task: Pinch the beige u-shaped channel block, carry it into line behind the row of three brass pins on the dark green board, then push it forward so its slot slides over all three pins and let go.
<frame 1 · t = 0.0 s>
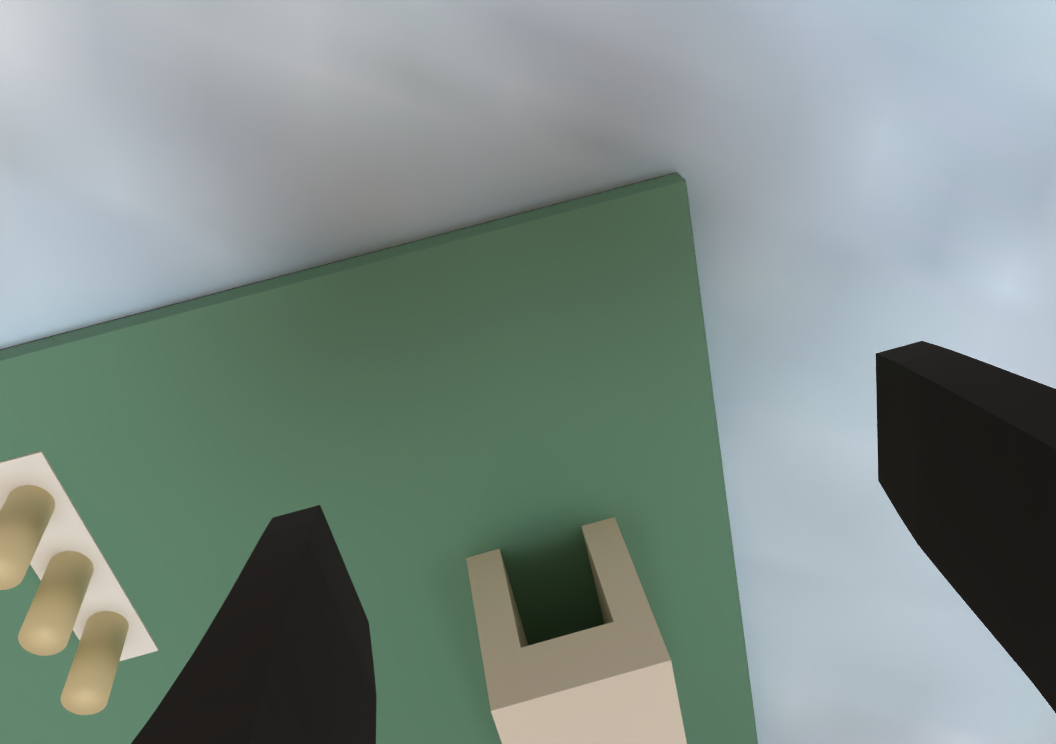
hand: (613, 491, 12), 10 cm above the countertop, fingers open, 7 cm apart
header board: (298, 633, 25), on the countertop
beige u-shaped channel block: (565, 631, 26), point 1 cm above the countertop, touching header board
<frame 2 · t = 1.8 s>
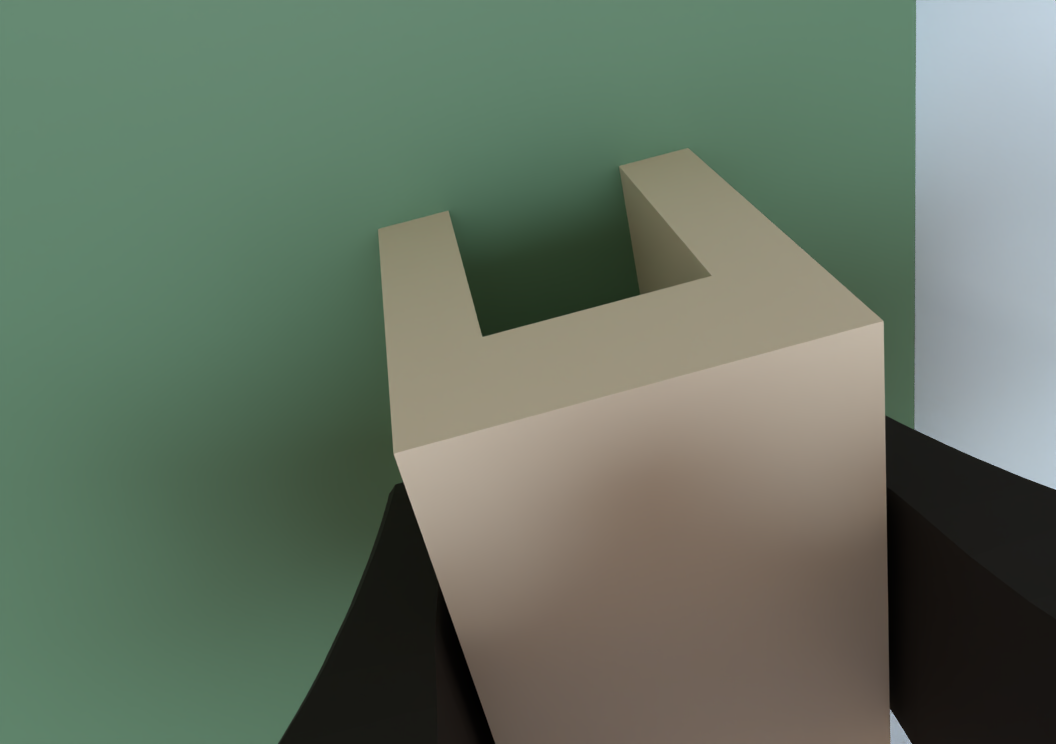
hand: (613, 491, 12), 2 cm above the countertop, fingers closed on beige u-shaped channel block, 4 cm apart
header board: (49, 408, 13), on the countertop
beige u-shaped channel block: (583, 416, 13), point 1 cm above the countertop, touching gripper, header board
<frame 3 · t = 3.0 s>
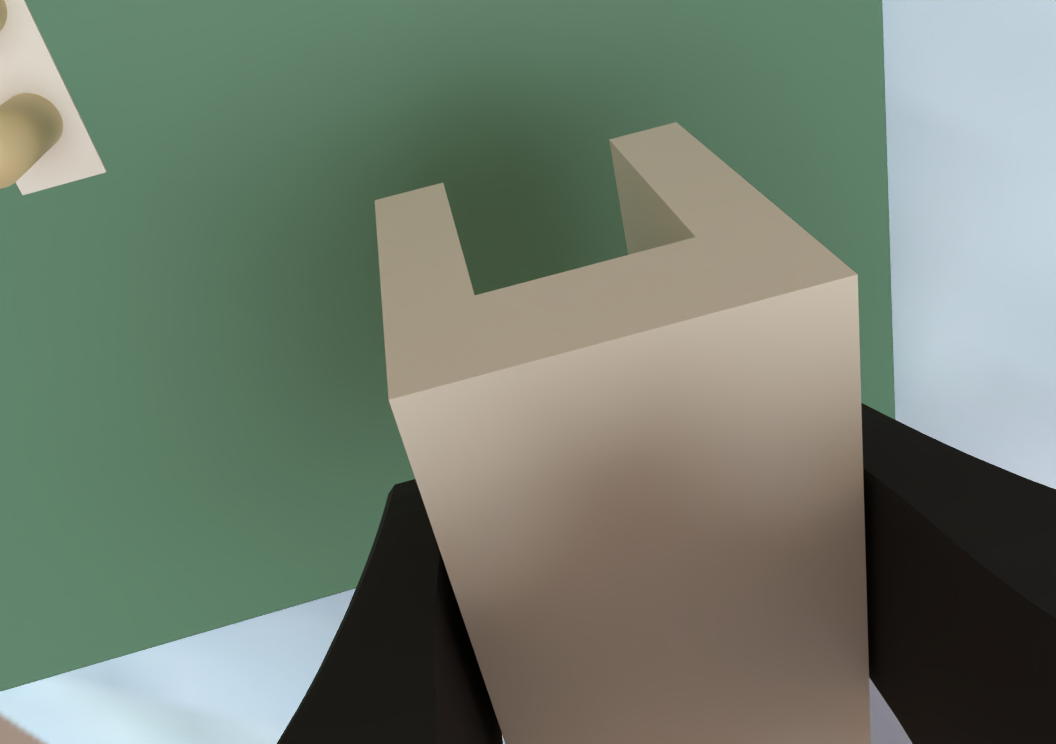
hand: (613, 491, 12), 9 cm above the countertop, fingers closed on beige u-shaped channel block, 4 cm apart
header board: (298, 180, 19), on the countertop
beige u-shaped channel block: (575, 387, 14), point 7 cm above the countertop, touching gripper
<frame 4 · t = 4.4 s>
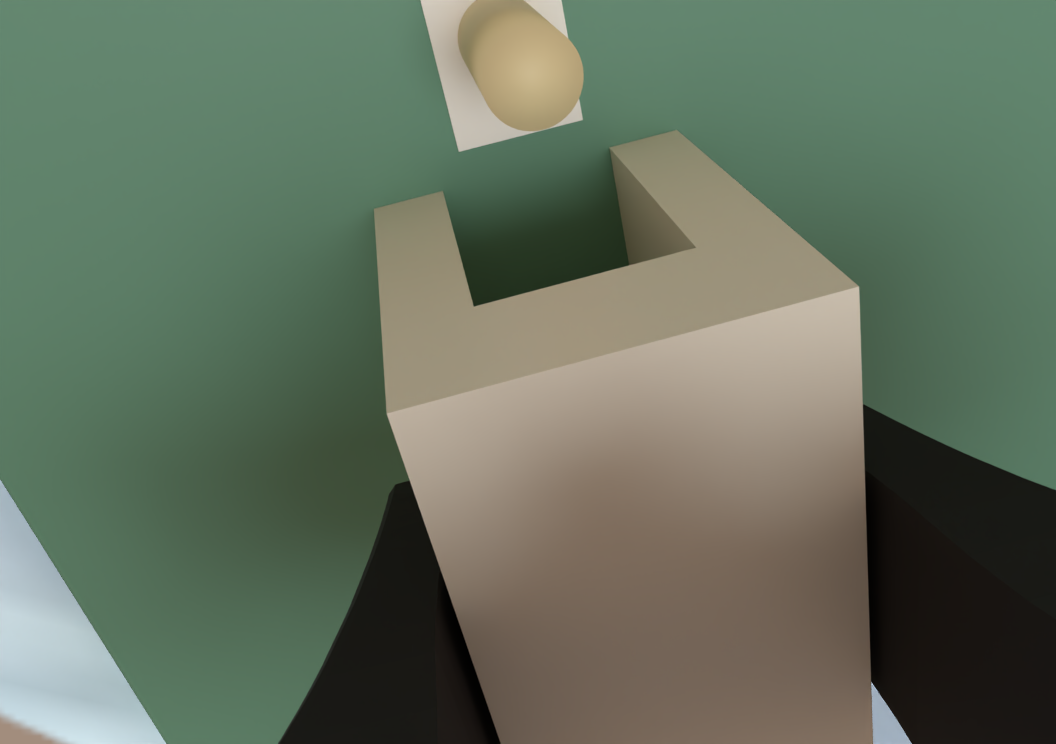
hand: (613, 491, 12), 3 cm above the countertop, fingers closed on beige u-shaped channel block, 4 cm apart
header board: (810, 141, 13), on the countertop
beige u-shaped channel block: (575, 395, 14), point 1 cm above the countertop, touching gripper
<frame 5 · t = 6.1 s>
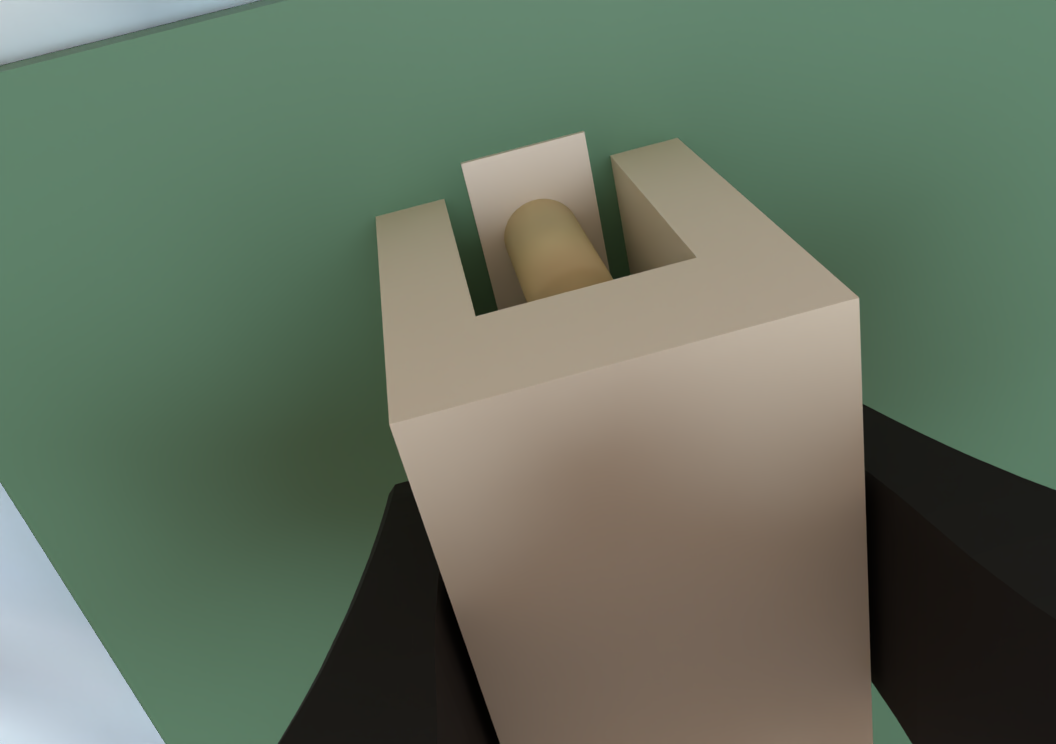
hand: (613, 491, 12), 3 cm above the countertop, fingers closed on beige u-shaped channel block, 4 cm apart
header board: (829, 503, 16), on the countertop
beige u-shaped channel block: (576, 401, 14), point 1 cm above the countertop, touching gripper, header board
when the fingers open (3 cm above the countertop, at t = 7.0 s): beige u-shaped channel block stays where it is, resting on header board.
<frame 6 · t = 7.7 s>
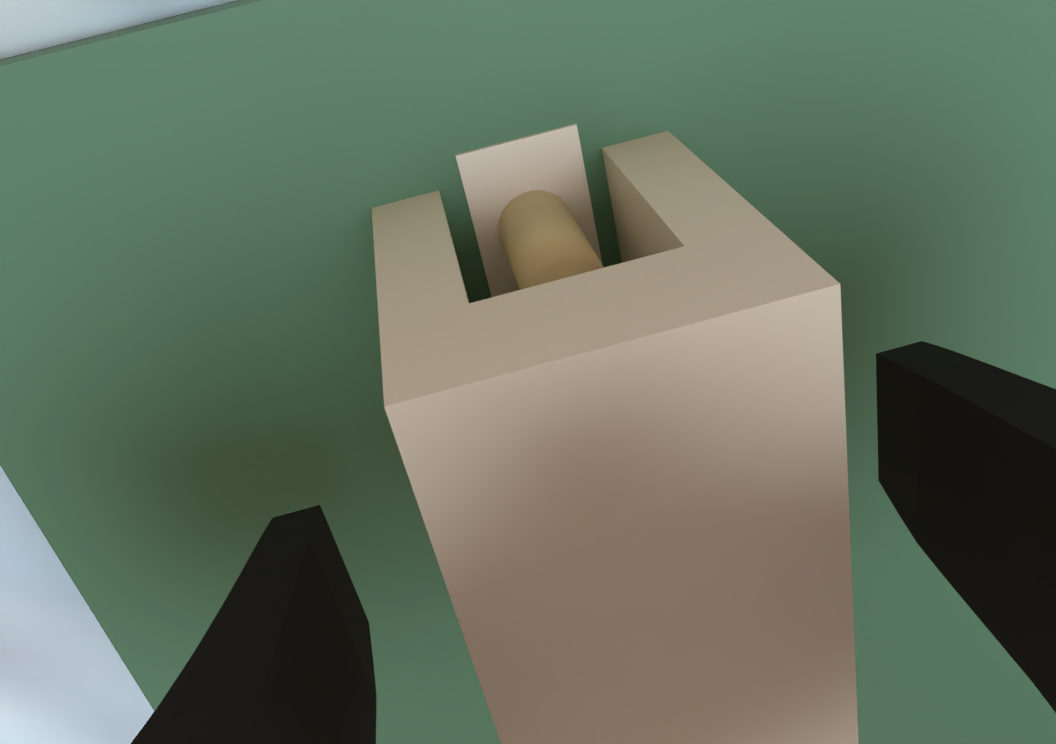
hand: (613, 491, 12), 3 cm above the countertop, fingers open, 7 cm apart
header board: (820, 491, 17), on the countertop
beige u-shaped channel block: (569, 390, 14), point 1 cm above the countertop, touching header board
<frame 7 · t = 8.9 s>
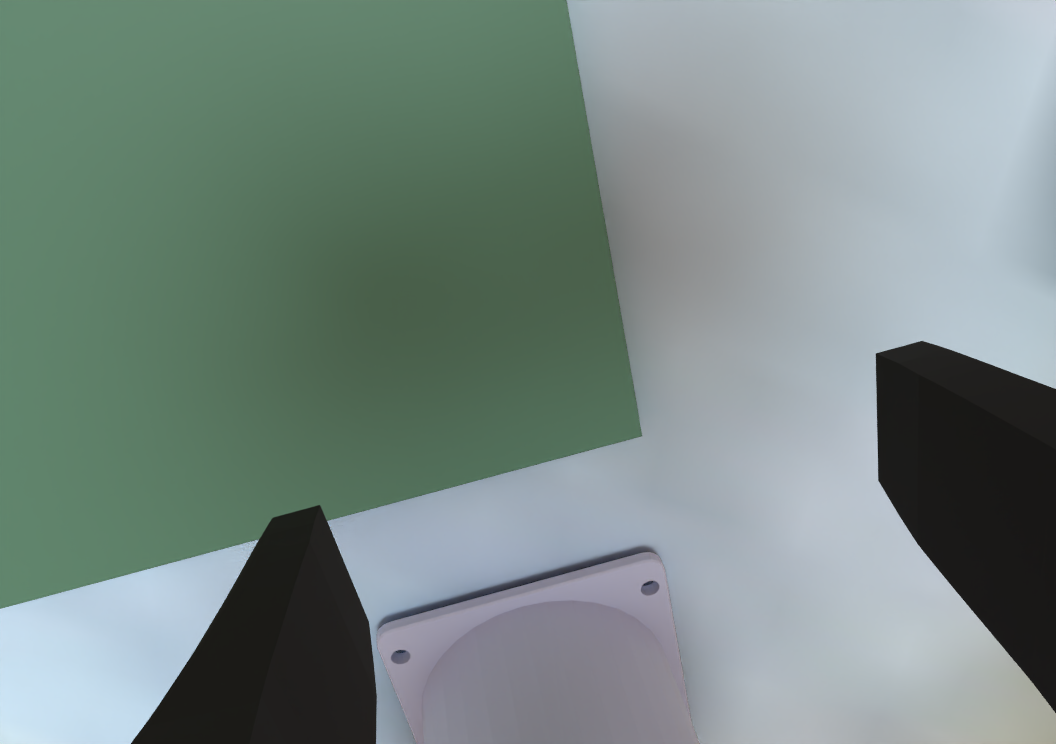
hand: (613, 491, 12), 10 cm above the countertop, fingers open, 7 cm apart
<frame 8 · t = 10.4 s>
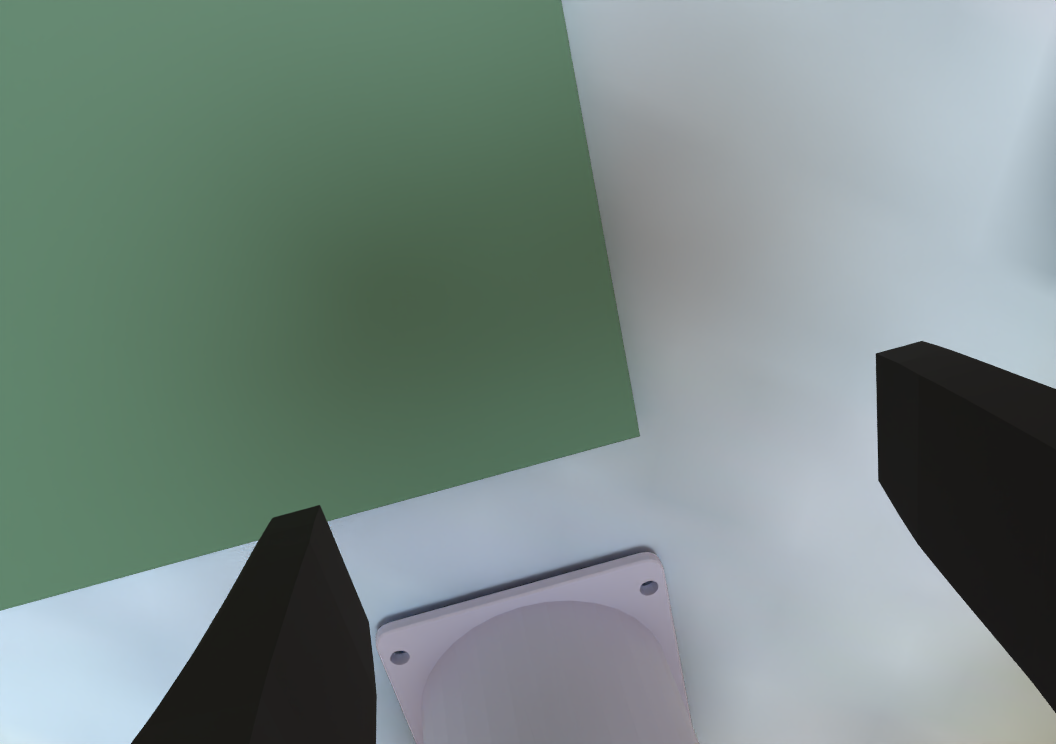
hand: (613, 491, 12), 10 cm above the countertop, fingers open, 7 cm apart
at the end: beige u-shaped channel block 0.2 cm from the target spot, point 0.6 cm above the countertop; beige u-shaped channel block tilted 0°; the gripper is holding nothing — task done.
